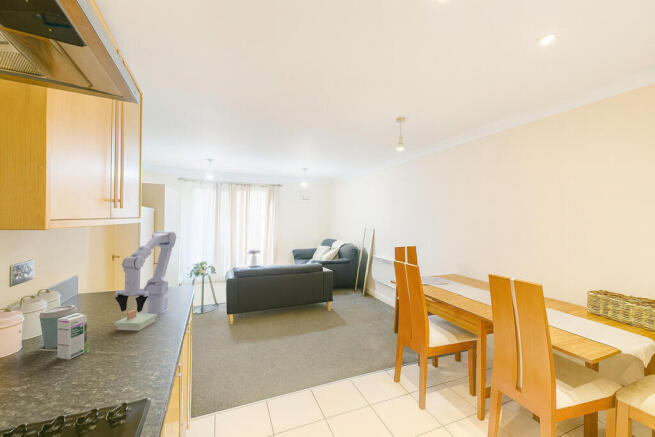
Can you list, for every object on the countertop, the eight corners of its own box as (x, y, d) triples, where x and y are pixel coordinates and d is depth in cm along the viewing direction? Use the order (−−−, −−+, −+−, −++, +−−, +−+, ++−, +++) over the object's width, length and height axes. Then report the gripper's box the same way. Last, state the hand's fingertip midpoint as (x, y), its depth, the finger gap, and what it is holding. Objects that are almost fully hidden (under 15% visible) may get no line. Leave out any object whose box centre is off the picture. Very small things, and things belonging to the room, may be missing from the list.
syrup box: (69, 360, 92) (70, 319, 92) (56, 357, 93) (57, 318, 93) (86, 352, 98) (87, 314, 98) (74, 350, 99) (75, 312, 99)
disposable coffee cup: (28, 352, 97) (29, 312, 97) (58, 338, 107) (59, 302, 107) (56, 353, 97) (57, 313, 96) (84, 339, 107) (85, 303, 107)
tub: (134, 321, 126) (134, 314, 126) (154, 322, 125) (154, 315, 125) (117, 330, 116) (117, 323, 116) (139, 331, 115) (139, 324, 115)
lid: (134, 316, 126) (134, 306, 126) (157, 317, 126) (157, 307, 126) (114, 326, 115) (114, 315, 115) (139, 327, 115) (139, 316, 115)
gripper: (109, 283, 117) (109, 313, 117) (141, 284, 116) (140, 314, 116) (122, 279, 124) (121, 308, 124) (152, 281, 123) (151, 309, 123)
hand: (131, 311), depth 121 cm, fingers open, 7 cm apart
